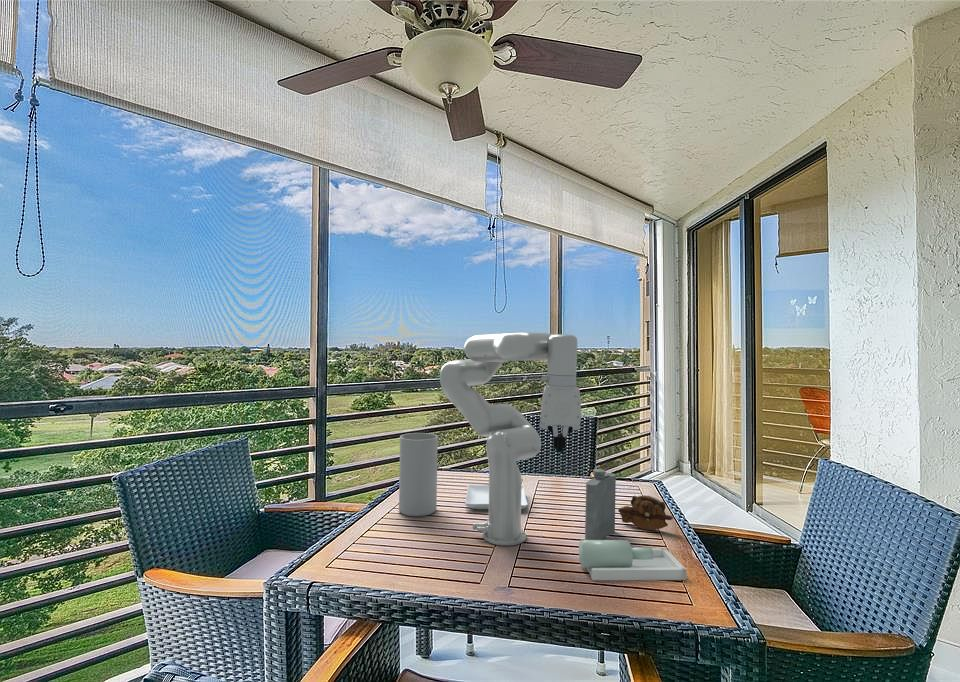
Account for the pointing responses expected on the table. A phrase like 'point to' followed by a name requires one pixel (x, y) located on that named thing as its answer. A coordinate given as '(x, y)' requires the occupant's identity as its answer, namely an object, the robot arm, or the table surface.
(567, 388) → the robot arm
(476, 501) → the salad plate
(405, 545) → the table surface
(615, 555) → the bottle
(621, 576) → the white rectangular tray
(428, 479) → the cylinder vase
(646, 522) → the wooden carving
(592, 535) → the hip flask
